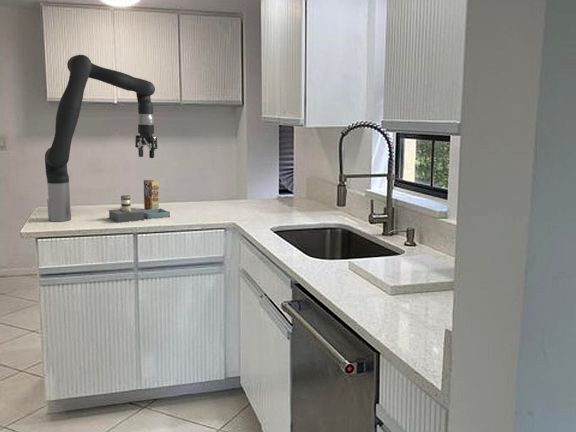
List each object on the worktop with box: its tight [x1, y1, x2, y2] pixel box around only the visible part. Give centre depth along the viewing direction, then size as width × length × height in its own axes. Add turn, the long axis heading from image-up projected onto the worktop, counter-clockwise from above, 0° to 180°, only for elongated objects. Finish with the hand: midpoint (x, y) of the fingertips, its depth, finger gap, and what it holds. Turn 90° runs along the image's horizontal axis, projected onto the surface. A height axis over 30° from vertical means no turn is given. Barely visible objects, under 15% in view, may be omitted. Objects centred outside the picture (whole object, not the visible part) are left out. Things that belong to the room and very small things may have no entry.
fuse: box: [120, 194, 132, 212], centre depth 272 cm, size 4×4×11 cm
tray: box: [140, 207, 171, 220], centre depth 282 cm, size 11×11×2 cm
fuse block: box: [108, 206, 145, 224], centre depth 273 cm, size 12×12×5 cm
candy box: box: [143, 179, 160, 210], centre depth 296 cm, size 9×4×15 cm, turn 39°
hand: (146, 157), depth 287 cm, fingers open, 8 cm apart
